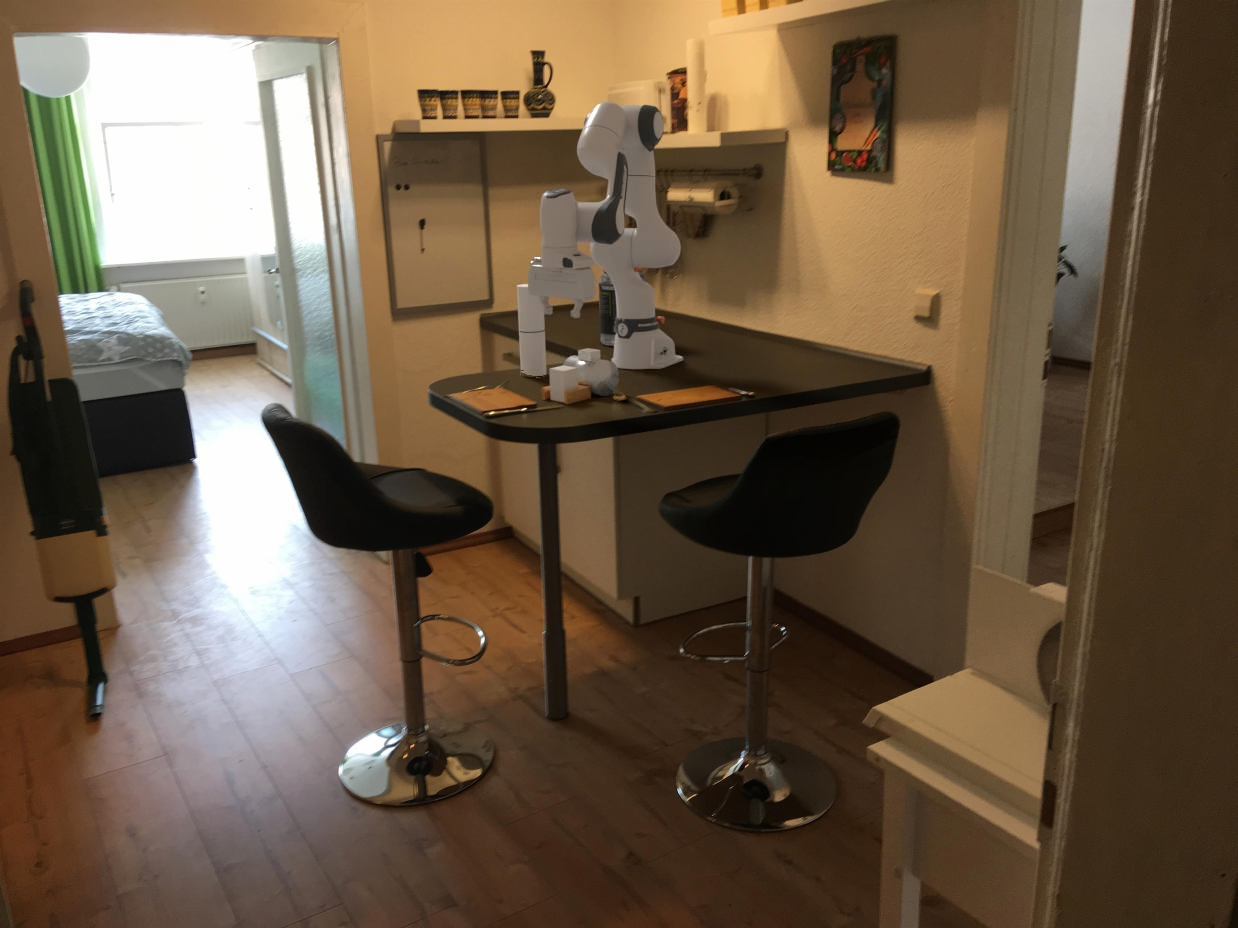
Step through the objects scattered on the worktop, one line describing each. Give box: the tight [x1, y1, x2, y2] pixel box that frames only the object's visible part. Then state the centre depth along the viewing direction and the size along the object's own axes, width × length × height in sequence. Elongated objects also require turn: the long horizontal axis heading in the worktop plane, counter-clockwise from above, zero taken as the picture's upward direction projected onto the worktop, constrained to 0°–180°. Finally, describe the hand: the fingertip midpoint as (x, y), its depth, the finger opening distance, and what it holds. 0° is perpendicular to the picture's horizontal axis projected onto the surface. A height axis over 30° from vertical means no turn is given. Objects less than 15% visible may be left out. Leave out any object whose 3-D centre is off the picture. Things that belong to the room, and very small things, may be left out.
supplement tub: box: [598, 268, 648, 347], centre depth 324 cm, size 16×16×26 cm
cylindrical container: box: [516, 283, 547, 377], centre depth 278 cm, size 7×7×25 cm
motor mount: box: [541, 347, 620, 405], centre depth 254 cm, size 18×12×11 cm
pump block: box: [549, 364, 578, 403], centre depth 251 cm, size 5×5×8 cm
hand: (561, 316), depth 246 cm, fingers open, 8 cm apart
